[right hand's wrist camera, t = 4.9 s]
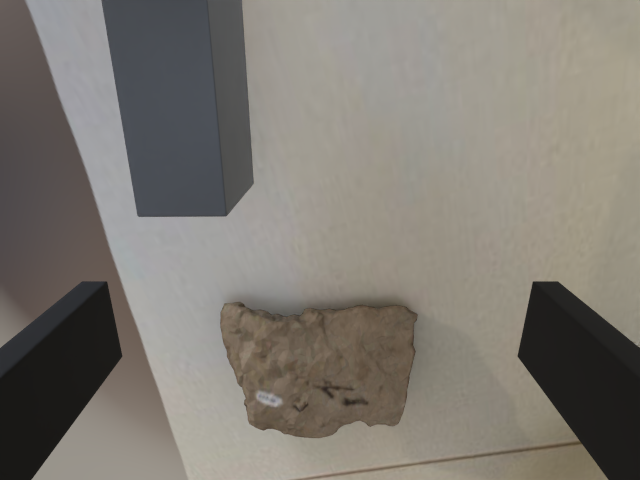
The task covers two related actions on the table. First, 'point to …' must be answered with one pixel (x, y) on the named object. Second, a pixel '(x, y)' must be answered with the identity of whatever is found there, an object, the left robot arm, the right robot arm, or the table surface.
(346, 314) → the stone
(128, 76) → the bar
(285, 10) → the table surface
